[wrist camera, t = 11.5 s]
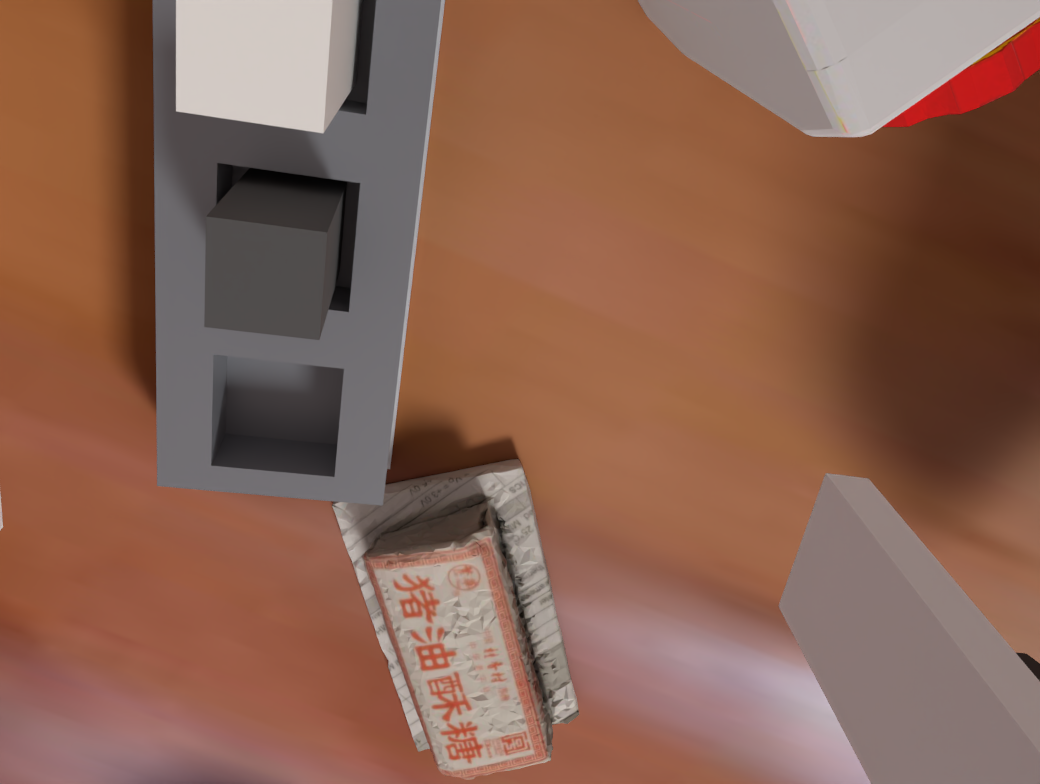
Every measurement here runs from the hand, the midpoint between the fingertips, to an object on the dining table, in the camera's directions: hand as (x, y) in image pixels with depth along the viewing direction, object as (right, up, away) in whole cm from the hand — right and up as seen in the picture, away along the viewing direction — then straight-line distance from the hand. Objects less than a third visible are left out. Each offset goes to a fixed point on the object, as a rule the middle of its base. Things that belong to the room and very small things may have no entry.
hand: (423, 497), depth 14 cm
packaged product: (-2, -10, +36) cm, 37 cm away
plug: (-7, +16, +20) cm, 27 cm away
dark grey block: (-8, +9, +24) cm, 27 cm away
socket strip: (-8, +9, +25) cm, 28 cm away
